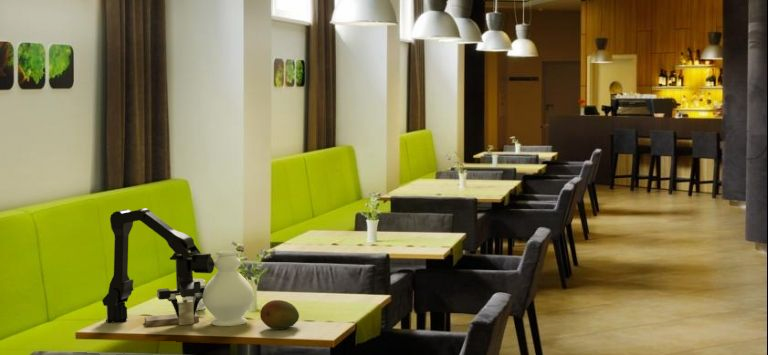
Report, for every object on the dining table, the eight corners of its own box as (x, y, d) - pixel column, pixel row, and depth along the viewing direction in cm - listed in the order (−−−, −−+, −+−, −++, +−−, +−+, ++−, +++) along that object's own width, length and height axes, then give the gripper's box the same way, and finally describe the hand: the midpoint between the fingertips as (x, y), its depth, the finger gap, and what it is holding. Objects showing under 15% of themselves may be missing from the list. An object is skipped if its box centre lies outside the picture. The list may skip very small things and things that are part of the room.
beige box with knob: (179, 325, 387) (178, 301, 386) (175, 319, 396) (174, 296, 396) (194, 323, 389) (193, 299, 388) (189, 318, 398) (188, 295, 397)
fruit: (255, 329, 378) (254, 300, 377) (281, 323, 388) (280, 294, 387) (279, 334, 371) (278, 304, 370) (305, 327, 380) (305, 298, 379)
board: (147, 326, 387) (146, 320, 387) (144, 322, 393) (144, 316, 393) (198, 321, 393) (198, 316, 392) (195, 317, 399) (195, 312, 399)
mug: (198, 313, 407) (197, 284, 406) (177, 309, 415) (176, 281, 414) (216, 309, 413) (215, 281, 412) (196, 305, 421) (195, 277, 420)
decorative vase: (233, 329, 378) (231, 256, 376) (192, 324, 387) (190, 253, 385) (264, 319, 394) (262, 249, 392) (224, 315, 403) (222, 246, 400)
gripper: (160, 278, 377) (162, 323, 378) (215, 274, 383) (216, 318, 384) (156, 273, 388) (157, 317, 389) (209, 269, 394) (210, 312, 395)
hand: (185, 316), depth 389 cm, fingers closed on beige box with knob, 5 cm apart
